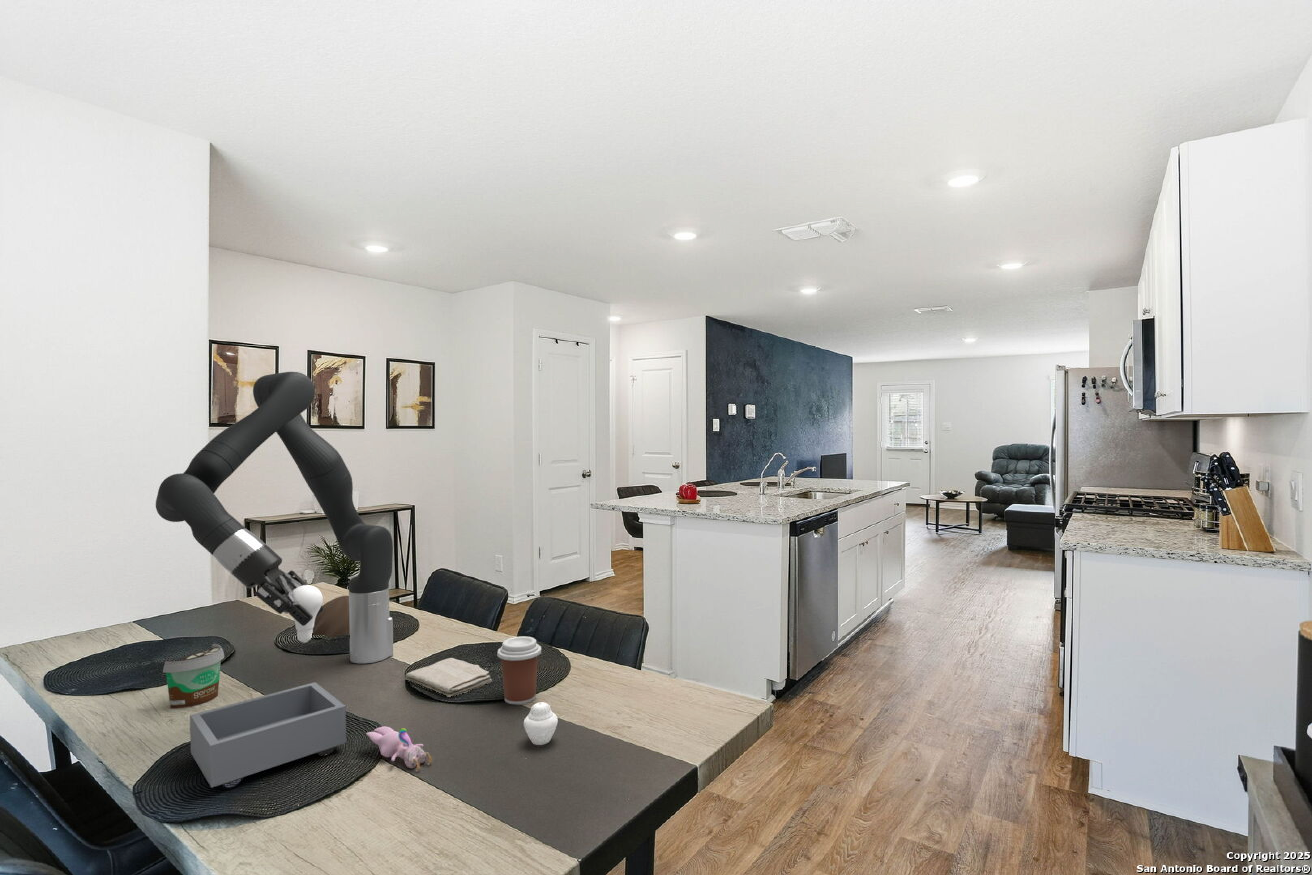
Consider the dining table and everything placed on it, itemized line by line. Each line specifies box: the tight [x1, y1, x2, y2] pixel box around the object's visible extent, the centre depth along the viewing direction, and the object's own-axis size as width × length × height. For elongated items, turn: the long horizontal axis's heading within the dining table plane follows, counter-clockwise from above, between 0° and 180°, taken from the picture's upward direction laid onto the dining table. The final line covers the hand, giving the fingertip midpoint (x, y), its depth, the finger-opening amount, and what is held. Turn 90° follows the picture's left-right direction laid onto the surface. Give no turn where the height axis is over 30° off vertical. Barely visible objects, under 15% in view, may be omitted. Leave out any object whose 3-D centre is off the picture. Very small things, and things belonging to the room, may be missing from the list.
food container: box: [162, 643, 225, 709], centre depth 138 cm, size 12×6×10 cm, turn 168°
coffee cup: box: [496, 635, 542, 706], centre depth 136 cm, size 9×9×12 cm
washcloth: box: [404, 657, 493, 698], centre depth 147 cm, size 12×18×3 cm, turn 53°
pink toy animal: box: [366, 726, 434, 772], centre depth 112 cm, size 6×6×15 cm
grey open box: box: [189, 681, 347, 789], centre depth 113 cm, size 20×16×8 cm
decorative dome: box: [313, 595, 350, 637], centre depth 187 cm, size 19×20×10 cm
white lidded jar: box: [523, 701, 559, 746], centre depth 117 cm, size 6×6×7 cm
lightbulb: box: [293, 584, 324, 644], centre depth 126 cm, size 6×6×11 cm
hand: (314, 617), depth 126 cm, fingers closed on lightbulb, 6 cm apart
